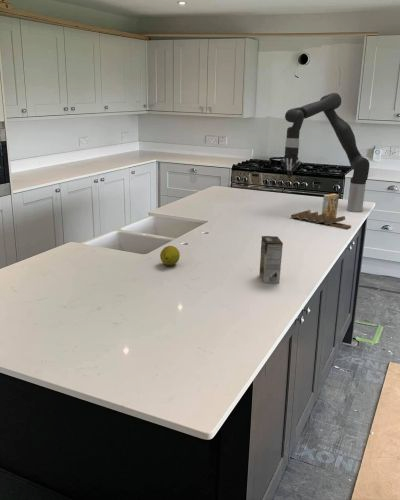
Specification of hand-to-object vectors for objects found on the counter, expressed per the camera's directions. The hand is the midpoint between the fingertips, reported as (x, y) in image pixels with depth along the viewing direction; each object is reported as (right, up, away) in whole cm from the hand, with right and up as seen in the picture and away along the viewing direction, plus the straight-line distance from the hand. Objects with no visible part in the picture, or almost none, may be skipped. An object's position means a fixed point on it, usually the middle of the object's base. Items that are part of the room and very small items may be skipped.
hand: (289, 176), depth 294 cm
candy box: (+22, -26, -3) cm, 34 cm away
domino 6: (+21, -28, -11) cm, 37 cm away
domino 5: (+19, -27, -10) cm, 34 cm away
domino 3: (+11, -25, -4) cm, 27 cm away
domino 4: (+14, -26, -7) cm, 30 cm away
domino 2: (+6, -24, -1) cm, 24 cm away
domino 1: (+3, -22, +2) cm, 23 cm away
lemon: (-64, -48, -83) cm, 116 cm away
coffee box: (-25, -53, -95) cm, 112 cm away
